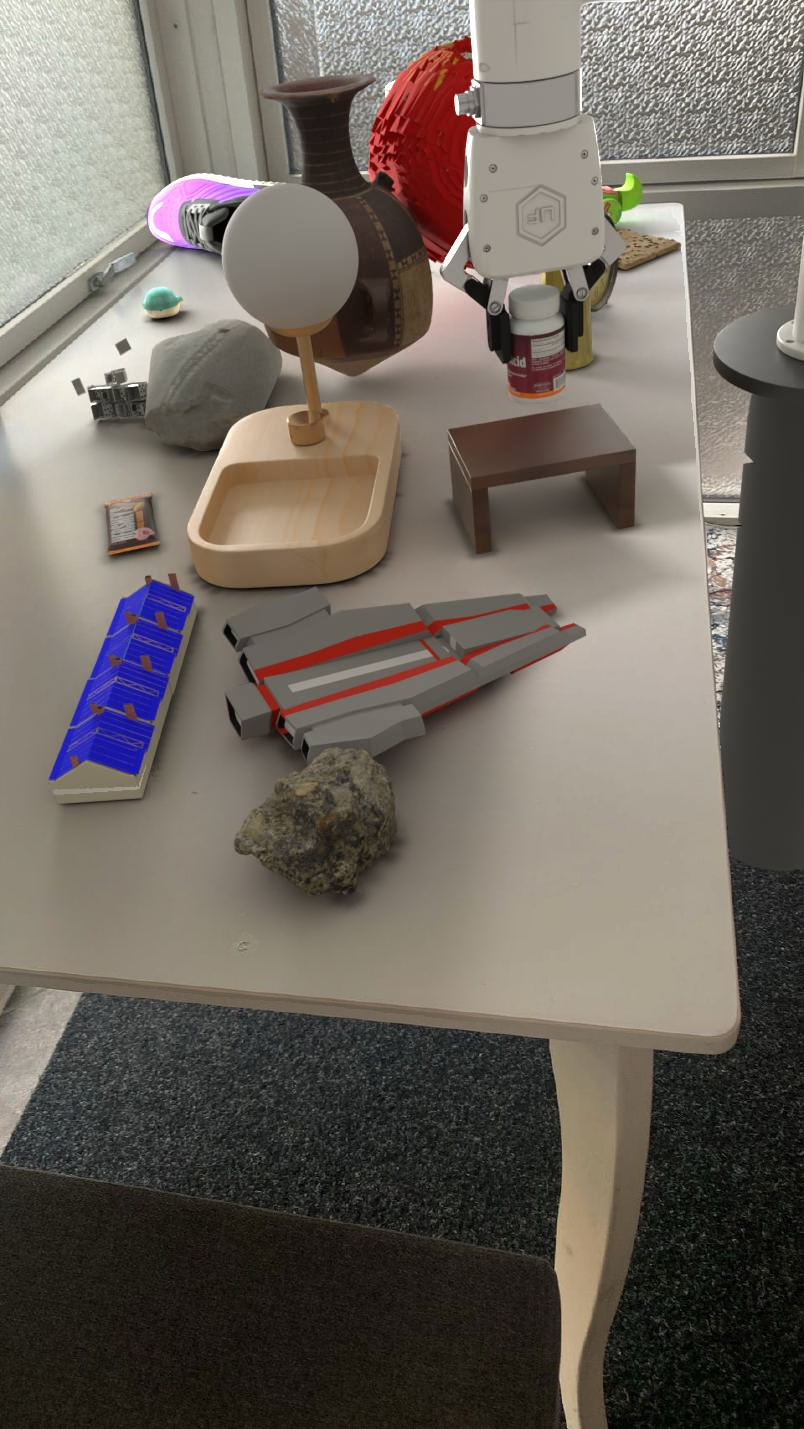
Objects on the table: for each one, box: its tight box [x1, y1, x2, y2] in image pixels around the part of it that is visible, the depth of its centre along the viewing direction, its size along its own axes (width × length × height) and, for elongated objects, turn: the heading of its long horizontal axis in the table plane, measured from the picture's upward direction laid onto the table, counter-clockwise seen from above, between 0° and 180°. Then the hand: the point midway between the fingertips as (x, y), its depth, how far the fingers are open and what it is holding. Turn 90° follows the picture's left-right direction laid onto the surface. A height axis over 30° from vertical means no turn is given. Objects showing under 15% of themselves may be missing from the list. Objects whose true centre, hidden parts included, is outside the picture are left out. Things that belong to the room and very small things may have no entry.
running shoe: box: [145, 172, 286, 256], centre depth 172 cm, size 11×29×15 cm
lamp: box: [186, 182, 403, 589], centre depth 99 cm, size 33×17×25 cm, turn 176°
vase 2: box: [540, 270, 595, 371], centre depth 122 cm, size 6×6×14 cm
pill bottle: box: [506, 284, 566, 406], centre depth 90 cm, size 5×5×8 cm
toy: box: [367, 35, 477, 271], centre depth 128 cm, size 23×24×30 cm
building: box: [48, 572, 198, 805], centre depth 83 cm, size 23×6×4 cm, turn 179°
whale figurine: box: [141, 286, 185, 319], centre depth 154 cm, size 6×7×4 cm
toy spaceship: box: [221, 586, 587, 767], centre depth 81 cm, size 19×27×5 cm
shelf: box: [446, 403, 637, 555], centre depth 98 cm, size 14×10×7 cm
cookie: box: [616, 228, 682, 271], centre depth 155 cm, size 12×12×1 cm
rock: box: [233, 747, 398, 897], centre depth 67 cm, size 6×9×10 cm
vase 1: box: [257, 73, 434, 378], centre depth 121 cm, size 23×19×30 cm
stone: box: [144, 318, 283, 452], centre depth 125 cm, size 26×7×15 cm
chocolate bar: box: [103, 492, 160, 556], centre depth 106 cm, size 11×5×1 cm, turn 14°
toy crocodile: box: [602, 172, 643, 226], centre depth 164 cm, size 20×7×6 cm, turn 98°
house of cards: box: [70, 337, 148, 422], centre depth 127 cm, size 9×9×8 cm
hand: (535, 350), depth 91 cm, fingers closed on pill bottle, 4 cm apart
